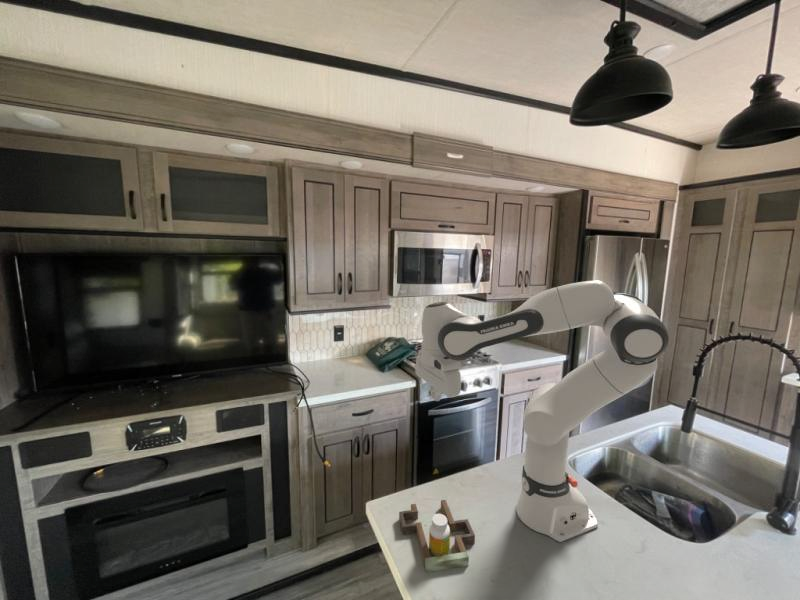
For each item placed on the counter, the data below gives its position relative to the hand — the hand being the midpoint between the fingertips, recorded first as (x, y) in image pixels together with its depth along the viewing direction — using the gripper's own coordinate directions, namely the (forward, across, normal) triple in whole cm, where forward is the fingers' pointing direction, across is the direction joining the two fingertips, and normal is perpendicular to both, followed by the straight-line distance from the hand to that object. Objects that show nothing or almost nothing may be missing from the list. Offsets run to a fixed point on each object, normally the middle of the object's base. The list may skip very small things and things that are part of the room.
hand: (435, 399), depth 101 cm
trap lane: (+34, +12, -7) cm, 37 cm away
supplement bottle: (+34, +17, -9) cm, 39 cm away
